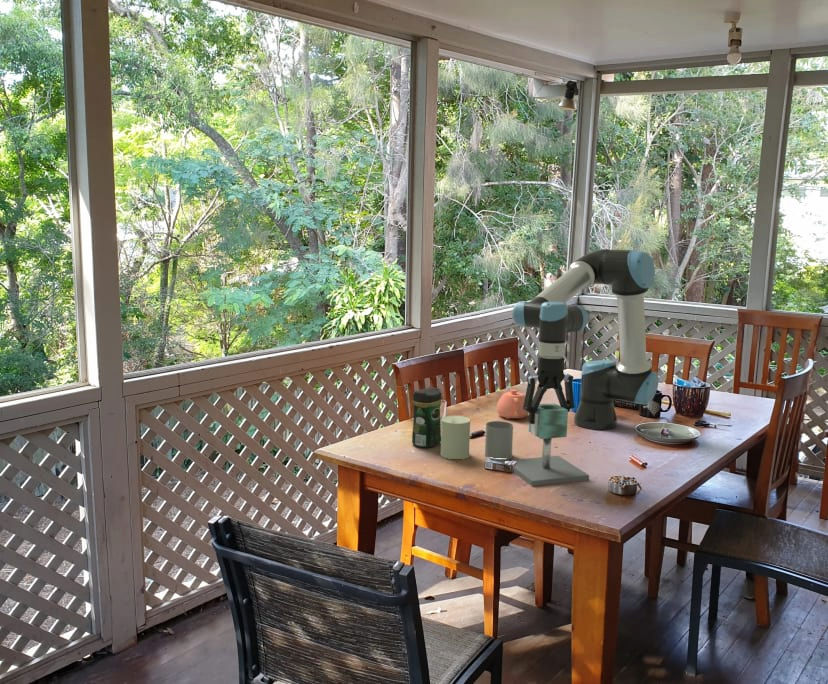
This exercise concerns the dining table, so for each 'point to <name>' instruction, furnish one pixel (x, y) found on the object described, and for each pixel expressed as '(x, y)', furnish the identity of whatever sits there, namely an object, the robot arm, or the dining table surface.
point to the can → (455, 437)
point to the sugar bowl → (512, 405)
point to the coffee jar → (426, 417)
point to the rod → (546, 453)
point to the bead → (551, 421)
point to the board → (548, 471)
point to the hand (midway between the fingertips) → (547, 433)
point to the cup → (499, 439)
